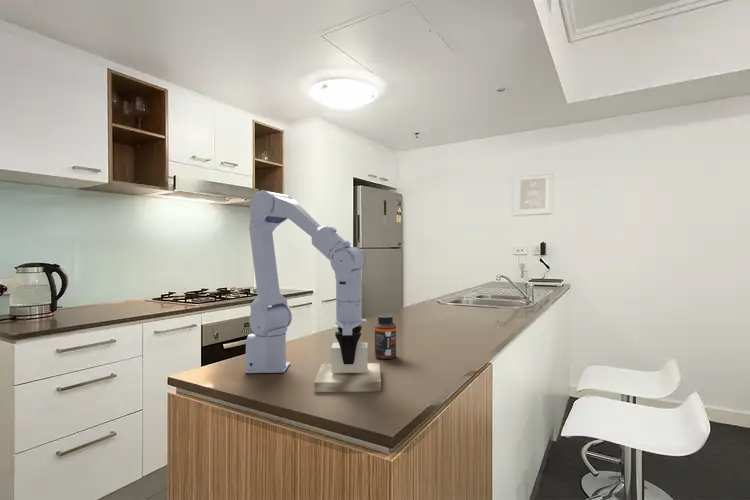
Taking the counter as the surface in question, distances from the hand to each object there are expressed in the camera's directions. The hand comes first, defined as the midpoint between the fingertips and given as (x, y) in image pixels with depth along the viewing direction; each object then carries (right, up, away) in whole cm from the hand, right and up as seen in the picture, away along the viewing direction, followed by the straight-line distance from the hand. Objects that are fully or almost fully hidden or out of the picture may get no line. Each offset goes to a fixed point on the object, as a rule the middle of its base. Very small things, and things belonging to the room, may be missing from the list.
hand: (349, 360), depth 93 cm
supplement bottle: (+9, -5, +20) cm, 22 cm away
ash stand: (0, -5, 0) cm, 5 cm away
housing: (0, -2, 0) cm, 2 cm away
